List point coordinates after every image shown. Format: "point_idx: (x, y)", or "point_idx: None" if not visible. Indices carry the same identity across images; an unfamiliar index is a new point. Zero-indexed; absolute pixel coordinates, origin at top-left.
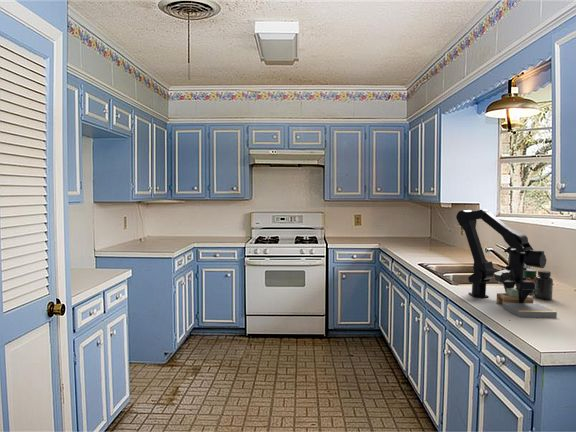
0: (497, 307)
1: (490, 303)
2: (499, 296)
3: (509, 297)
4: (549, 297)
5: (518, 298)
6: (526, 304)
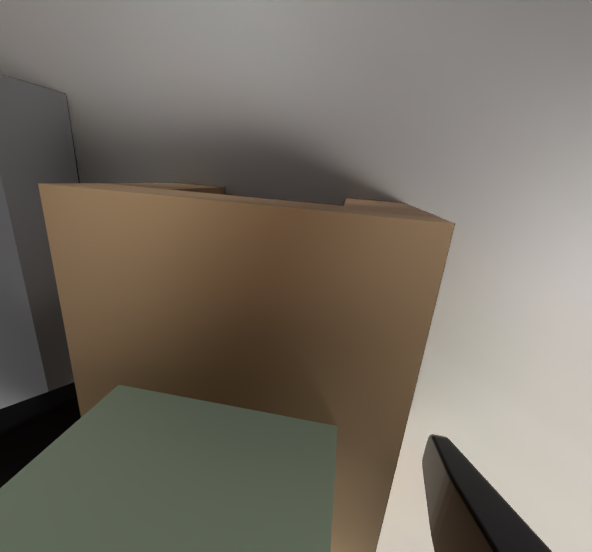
0: (77, 7)
1: (319, 12)
2: (291, 201)
3: (71, 304)
4: None
5: None
6: (1, 397)
